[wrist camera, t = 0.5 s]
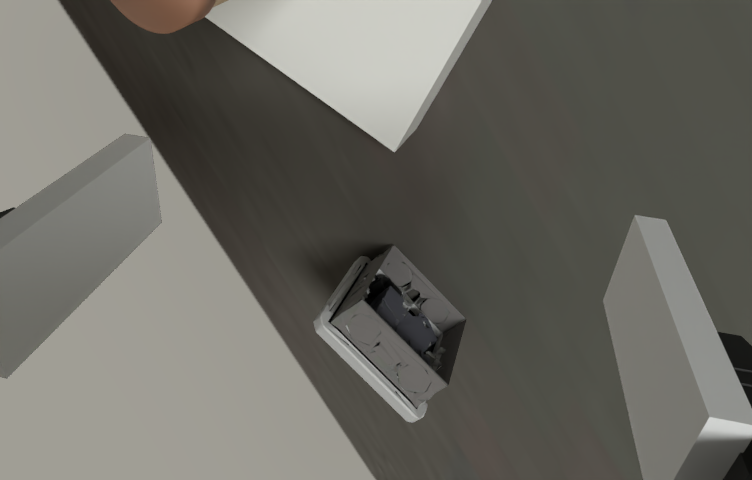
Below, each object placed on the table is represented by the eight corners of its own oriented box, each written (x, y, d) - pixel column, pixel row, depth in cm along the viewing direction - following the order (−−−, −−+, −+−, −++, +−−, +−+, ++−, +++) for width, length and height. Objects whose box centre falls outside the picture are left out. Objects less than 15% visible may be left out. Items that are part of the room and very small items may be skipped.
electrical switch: (356, 256, 44) (294, 336, 37) (400, 222, 41) (341, 303, 34) (441, 341, 45) (396, 434, 38) (490, 315, 42) (451, 412, 35)
